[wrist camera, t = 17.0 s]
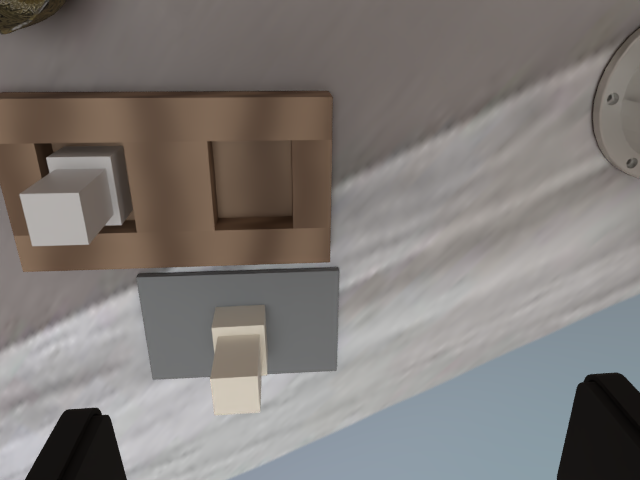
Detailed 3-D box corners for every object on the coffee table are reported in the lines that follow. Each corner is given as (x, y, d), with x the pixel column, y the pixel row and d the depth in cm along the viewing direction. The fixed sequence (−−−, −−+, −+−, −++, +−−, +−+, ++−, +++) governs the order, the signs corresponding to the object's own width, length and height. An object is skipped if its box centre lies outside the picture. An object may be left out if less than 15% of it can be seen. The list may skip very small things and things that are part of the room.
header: (328, 90, 35) (332, 96, 33) (326, 245, 40) (330, 262, 37) (1, 92, 34) (-22, 98, 31) (41, 253, 38) (23, 271, 36)
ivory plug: (264, 304, 41) (262, 366, 34) (267, 352, 43) (266, 420, 36) (215, 307, 41) (202, 369, 34) (220, 355, 43) (209, 424, 36)
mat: (338, 267, 41) (338, 270, 40) (335, 366, 45) (336, 370, 45) (138, 274, 40) (136, 277, 39) (154, 375, 44) (152, 379, 43)
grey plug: (122, 145, 35) (83, 179, 28) (132, 209, 37) (98, 256, 30) (63, 146, 35) (8, 180, 28) (77, 211, 37) (28, 258, 30)
